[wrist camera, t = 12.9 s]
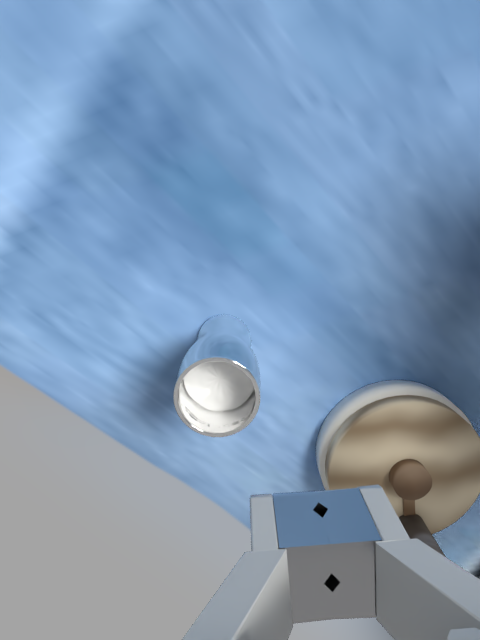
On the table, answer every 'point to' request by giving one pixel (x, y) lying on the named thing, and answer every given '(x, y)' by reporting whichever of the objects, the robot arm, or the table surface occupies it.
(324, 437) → the stand
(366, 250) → the table surface
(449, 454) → the tan disc with handle
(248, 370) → the beer glass
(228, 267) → the table surface
